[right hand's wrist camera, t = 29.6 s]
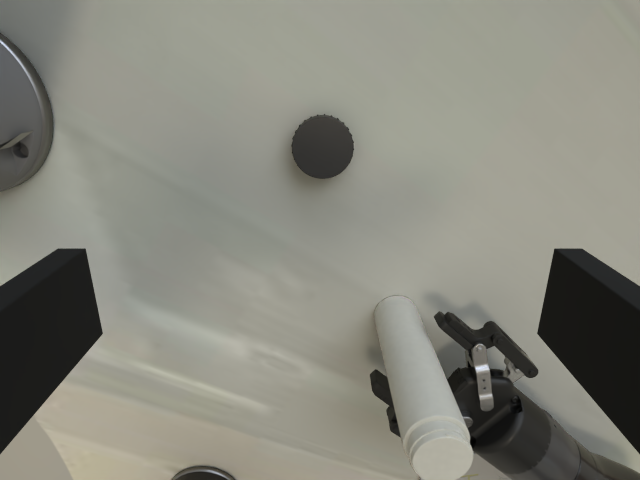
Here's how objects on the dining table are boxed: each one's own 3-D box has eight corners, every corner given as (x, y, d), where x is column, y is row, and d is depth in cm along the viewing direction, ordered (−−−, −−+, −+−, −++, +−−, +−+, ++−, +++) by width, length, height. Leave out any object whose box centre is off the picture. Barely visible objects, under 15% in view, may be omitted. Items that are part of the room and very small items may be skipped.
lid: (353, 173, 41) (355, 177, 39) (294, 176, 41) (293, 181, 40) (351, 112, 39) (353, 114, 37) (290, 116, 39) (288, 117, 38)
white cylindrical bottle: (411, 336, 47) (466, 491, 30) (369, 330, 47) (400, 482, 29) (422, 298, 46) (486, 438, 28) (378, 292, 46) (416, 429, 28)
